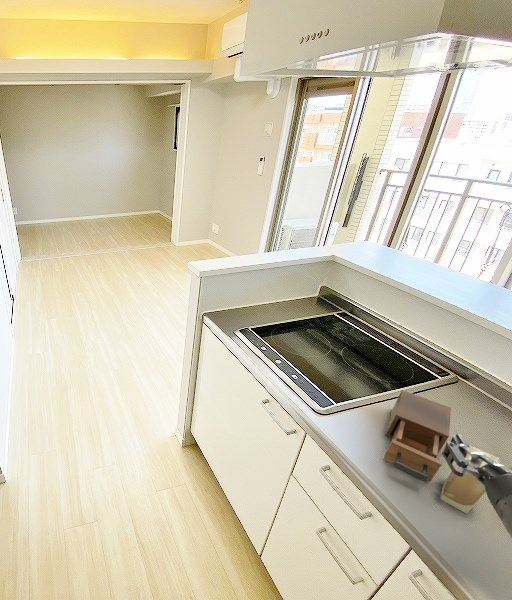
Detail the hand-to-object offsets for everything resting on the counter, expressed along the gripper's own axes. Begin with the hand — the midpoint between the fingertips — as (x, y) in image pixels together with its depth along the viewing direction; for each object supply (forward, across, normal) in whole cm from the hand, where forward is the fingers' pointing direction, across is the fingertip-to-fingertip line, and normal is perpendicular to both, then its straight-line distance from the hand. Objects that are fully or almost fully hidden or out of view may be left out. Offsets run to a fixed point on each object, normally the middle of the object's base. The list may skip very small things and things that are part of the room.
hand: (489, 448), depth 58 cm
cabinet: (+26, +2, +15) cm, 30 cm away
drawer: (+14, +5, +16) cm, 22 cm away
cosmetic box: (+10, -3, +18) cm, 21 cm away
